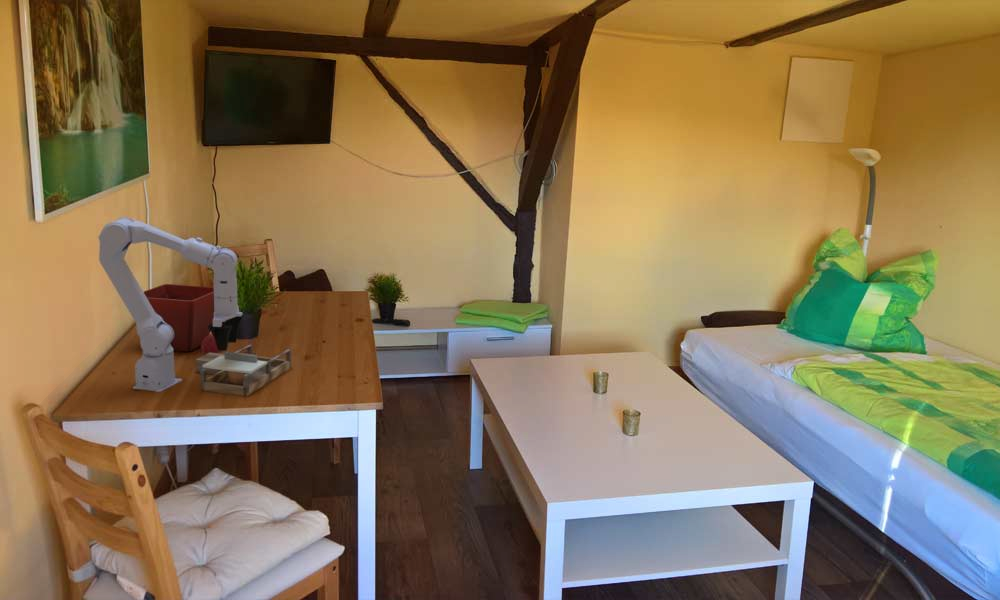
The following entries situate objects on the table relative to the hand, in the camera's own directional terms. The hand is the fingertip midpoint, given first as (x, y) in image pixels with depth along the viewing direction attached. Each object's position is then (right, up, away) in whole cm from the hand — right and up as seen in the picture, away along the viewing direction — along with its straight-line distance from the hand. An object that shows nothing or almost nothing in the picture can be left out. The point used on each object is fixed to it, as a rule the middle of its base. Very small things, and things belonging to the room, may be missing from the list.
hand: (227, 346), depth 194 cm
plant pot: (-26, -2, +32) cm, 41 cm away
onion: (-13, -5, +22) cm, 26 cm away
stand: (-8, -8, +11) cm, 15 cm away
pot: (+2, -10, 0) cm, 11 cm away
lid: (+3, -5, -2) cm, 6 cm away
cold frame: (+4, -10, +6) cm, 12 cm away
